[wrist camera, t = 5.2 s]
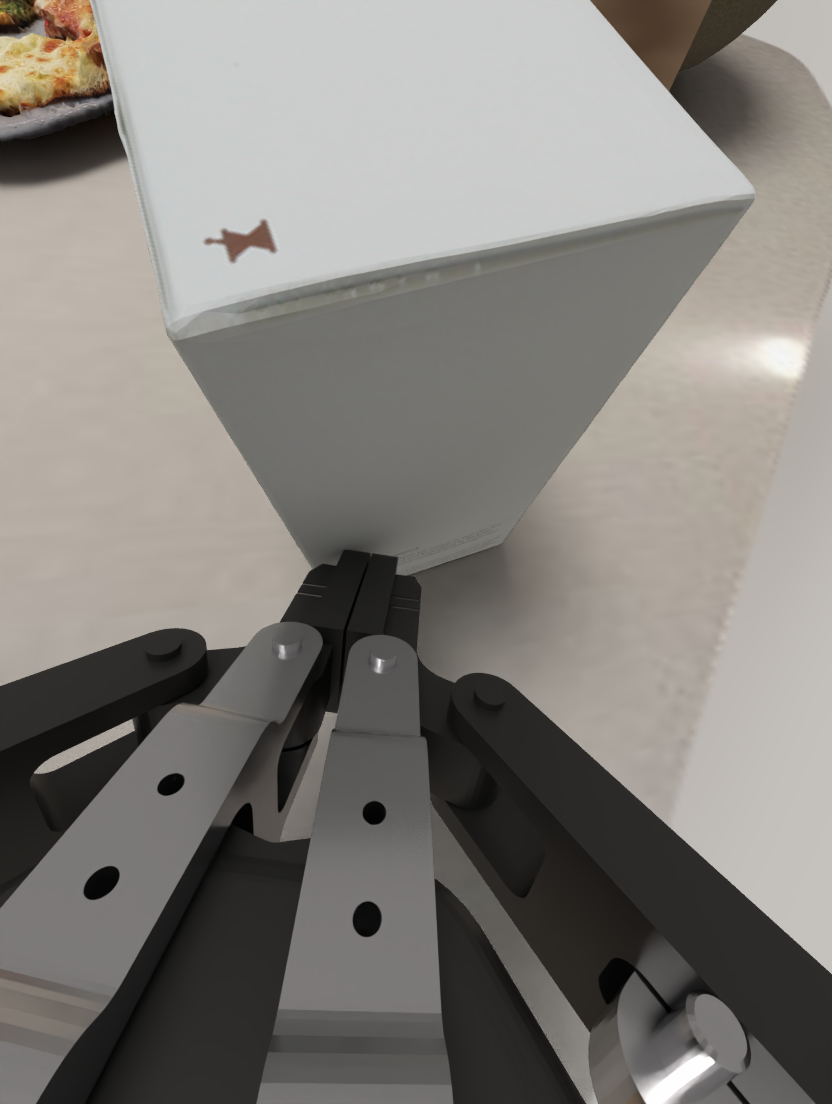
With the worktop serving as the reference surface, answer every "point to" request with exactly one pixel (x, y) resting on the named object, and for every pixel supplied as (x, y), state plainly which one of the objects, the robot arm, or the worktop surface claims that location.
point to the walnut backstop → (656, 30)
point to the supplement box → (408, 243)
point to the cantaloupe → (723, 27)
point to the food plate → (50, 67)
